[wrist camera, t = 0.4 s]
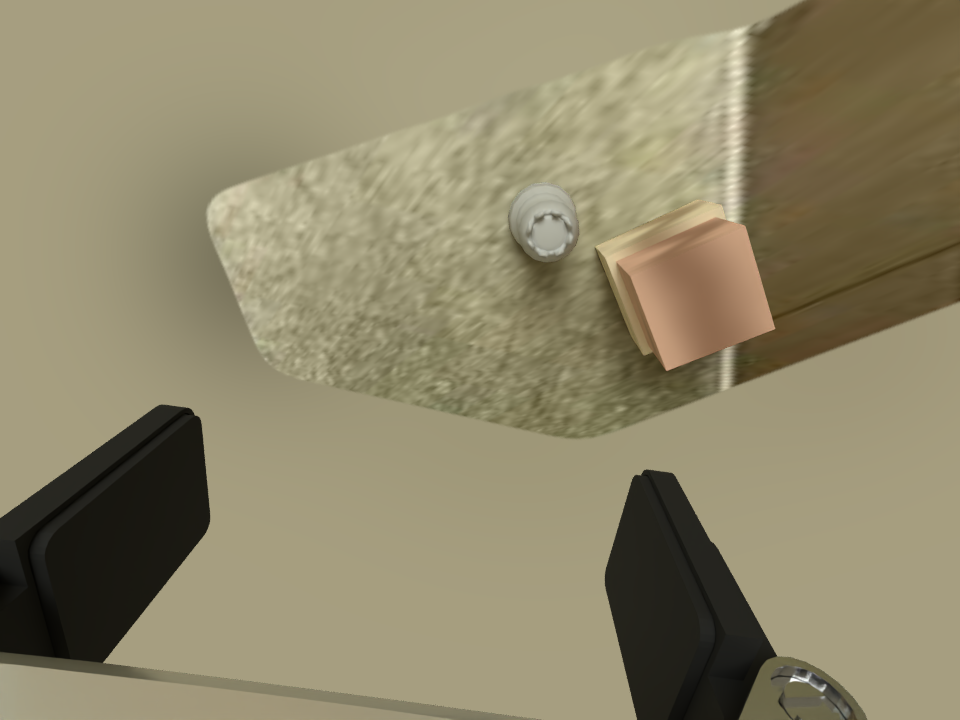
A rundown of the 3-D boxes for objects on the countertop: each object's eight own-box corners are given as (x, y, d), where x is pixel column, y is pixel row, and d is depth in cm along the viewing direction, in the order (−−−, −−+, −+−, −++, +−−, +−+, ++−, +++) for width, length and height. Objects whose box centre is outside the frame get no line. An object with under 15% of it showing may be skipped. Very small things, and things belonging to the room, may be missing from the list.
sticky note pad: (697, 199, 32) (752, 212, 25) (728, 295, 34) (786, 333, 27) (594, 246, 34) (617, 271, 26) (630, 335, 36) (660, 381, 28)
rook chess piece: (554, 262, 34) (566, 291, 27) (496, 232, 34) (492, 254, 26) (588, 201, 33) (610, 214, 25) (527, 169, 32) (532, 173, 25)
